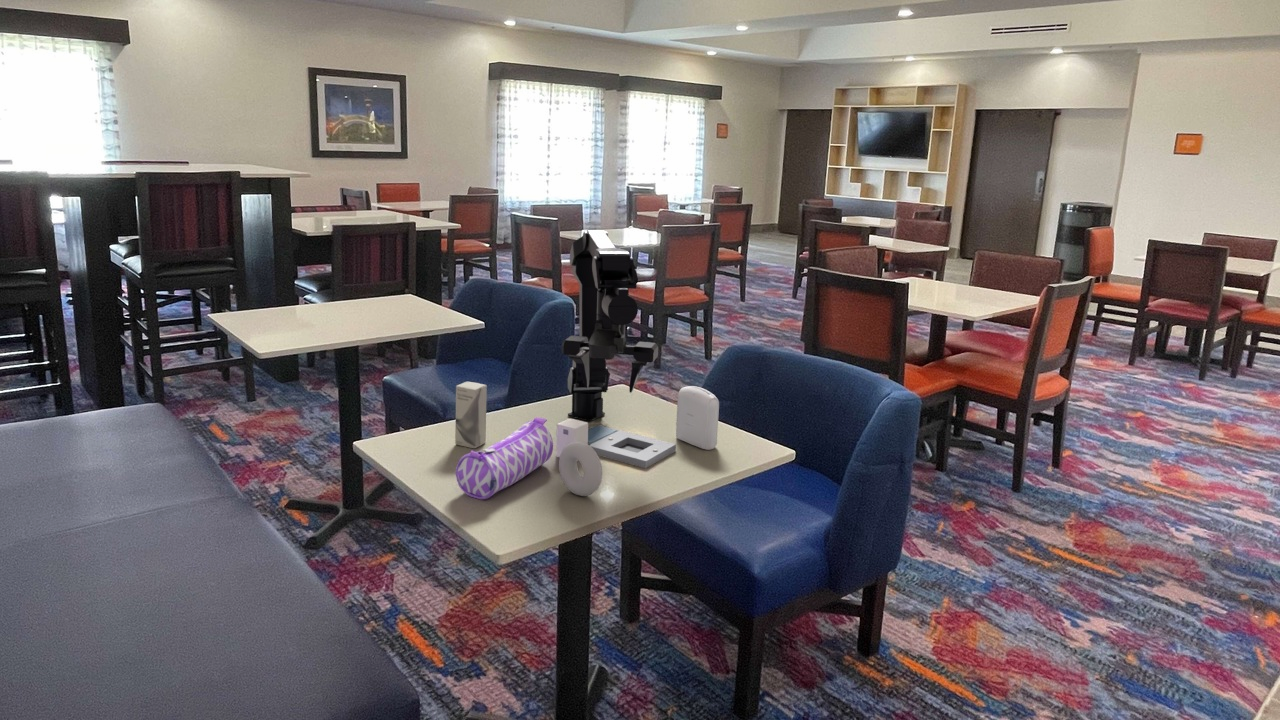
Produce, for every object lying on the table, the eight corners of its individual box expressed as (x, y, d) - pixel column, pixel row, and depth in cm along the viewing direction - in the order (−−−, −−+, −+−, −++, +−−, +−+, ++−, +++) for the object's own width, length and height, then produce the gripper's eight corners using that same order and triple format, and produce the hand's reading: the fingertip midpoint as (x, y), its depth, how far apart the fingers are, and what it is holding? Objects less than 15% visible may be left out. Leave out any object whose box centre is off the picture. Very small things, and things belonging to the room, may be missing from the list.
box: (454, 445, 171) (453, 385, 168) (466, 438, 175) (465, 380, 172) (476, 449, 170) (475, 389, 166) (487, 442, 174) (487, 384, 170)
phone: (568, 441, 176) (568, 437, 176) (597, 428, 185) (597, 424, 185) (591, 447, 173) (591, 443, 173) (619, 433, 182) (620, 430, 182)
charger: (556, 456, 168) (556, 424, 166) (569, 450, 171) (570, 418, 170) (574, 461, 165) (574, 428, 164) (587, 455, 169) (588, 422, 167)
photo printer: (672, 438, 181) (675, 383, 178) (687, 434, 184) (690, 380, 181) (704, 452, 173) (708, 395, 170) (719, 448, 176) (723, 392, 173)
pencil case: (493, 507, 144) (493, 456, 141) (449, 496, 147) (448, 447, 145) (557, 466, 163) (557, 420, 161) (516, 457, 167) (516, 412, 164)
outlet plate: (588, 452, 170) (588, 444, 170) (619, 436, 180) (620, 429, 180) (645, 468, 163) (646, 460, 163) (675, 451, 173) (676, 443, 173)
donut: (605, 500, 148) (607, 447, 145) (591, 505, 146) (593, 452, 143) (568, 483, 155) (569, 433, 152) (554, 488, 152) (555, 437, 150)
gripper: (553, 318, 158) (552, 396, 162) (649, 326, 154) (645, 406, 158) (570, 307, 168) (569, 381, 172) (660, 315, 165) (656, 390, 169)
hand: (608, 389), depth 168 cm, fingers open, 9 cm apart
